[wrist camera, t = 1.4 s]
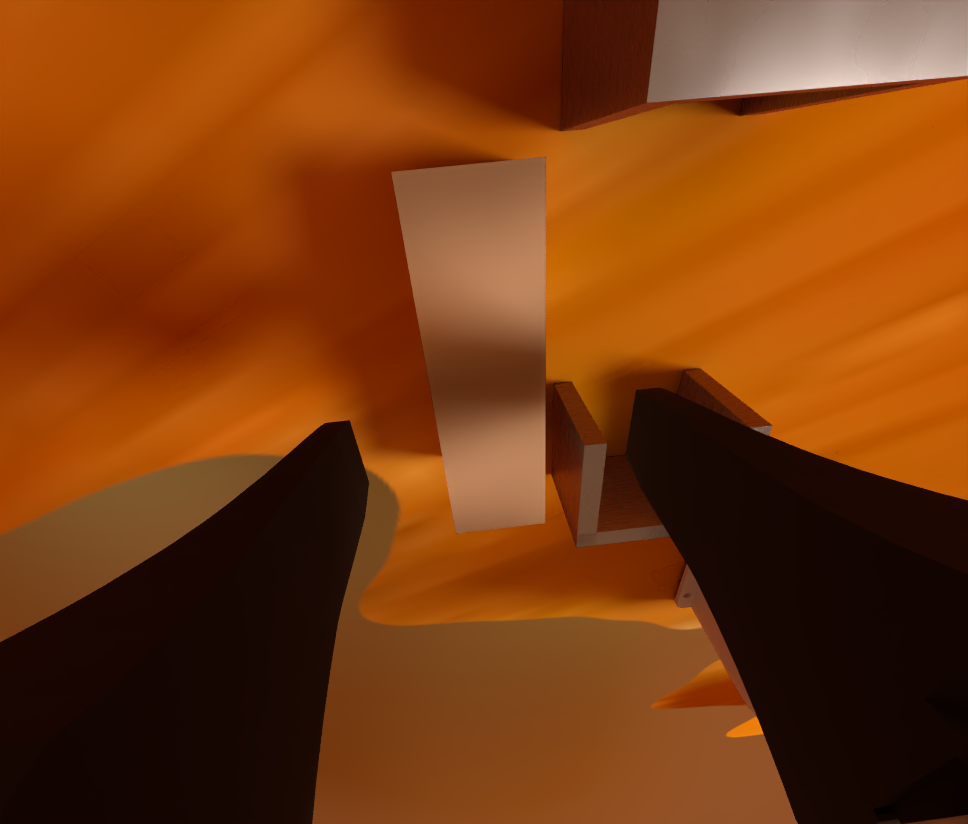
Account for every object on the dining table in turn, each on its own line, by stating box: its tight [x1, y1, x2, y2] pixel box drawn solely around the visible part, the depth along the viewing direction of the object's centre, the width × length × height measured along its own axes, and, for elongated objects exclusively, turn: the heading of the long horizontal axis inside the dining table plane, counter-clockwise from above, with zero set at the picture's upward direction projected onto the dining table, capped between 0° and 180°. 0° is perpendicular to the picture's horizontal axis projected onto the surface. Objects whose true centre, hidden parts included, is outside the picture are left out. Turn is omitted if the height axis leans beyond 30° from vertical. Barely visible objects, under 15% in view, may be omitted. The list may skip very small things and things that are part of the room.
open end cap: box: [552, 369, 772, 548], centre depth 17 cm, size 5×7×5 cm
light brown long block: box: [391, 157, 546, 534], centre depth 14 cm, size 12×4×5 cm, turn 5°
